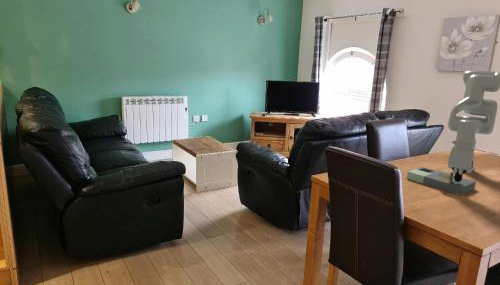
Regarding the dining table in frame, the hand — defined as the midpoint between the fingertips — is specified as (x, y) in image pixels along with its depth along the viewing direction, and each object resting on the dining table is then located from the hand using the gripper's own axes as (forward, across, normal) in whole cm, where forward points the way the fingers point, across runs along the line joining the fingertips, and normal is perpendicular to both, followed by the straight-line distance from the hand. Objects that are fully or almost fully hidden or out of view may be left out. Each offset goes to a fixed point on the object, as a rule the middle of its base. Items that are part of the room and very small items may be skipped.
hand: (457, 181), depth 178 cm
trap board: (+5, -10, +4) cm, 12 cm away
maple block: (+1, -5, -2) cm, 5 cm away
